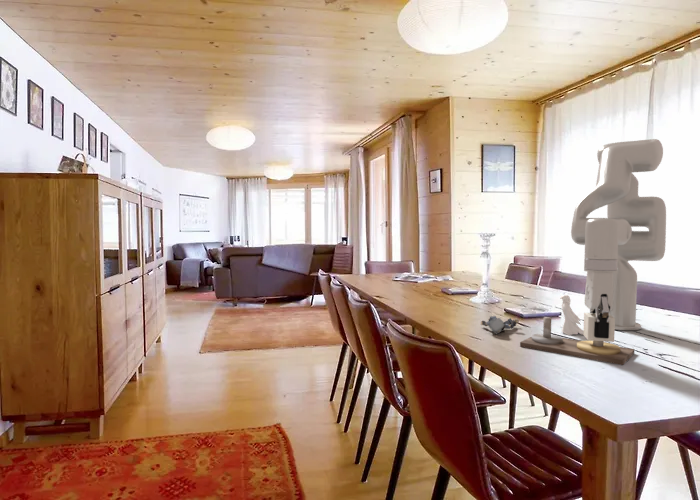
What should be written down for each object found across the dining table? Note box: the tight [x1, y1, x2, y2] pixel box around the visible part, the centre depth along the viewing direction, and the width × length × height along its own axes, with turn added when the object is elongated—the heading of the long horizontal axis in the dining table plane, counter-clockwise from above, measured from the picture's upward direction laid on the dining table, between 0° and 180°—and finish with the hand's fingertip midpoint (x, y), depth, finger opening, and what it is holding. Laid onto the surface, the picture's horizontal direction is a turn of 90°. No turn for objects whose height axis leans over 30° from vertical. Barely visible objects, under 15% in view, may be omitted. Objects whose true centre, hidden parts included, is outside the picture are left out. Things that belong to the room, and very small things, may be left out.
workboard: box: [519, 316, 635, 366], centre depth 122 cm, size 13×25×8 cm, turn 47°
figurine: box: [560, 294, 584, 336], centre depth 140 cm, size 8×8×12 cm
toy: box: [480, 315, 520, 335], centre depth 144 cm, size 7×11×15 cm
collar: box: [583, 312, 616, 343], centre depth 118 cm, size 6×6×6 cm
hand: (598, 334), depth 118 cm, fingers closed on collar, 6 cm apart
